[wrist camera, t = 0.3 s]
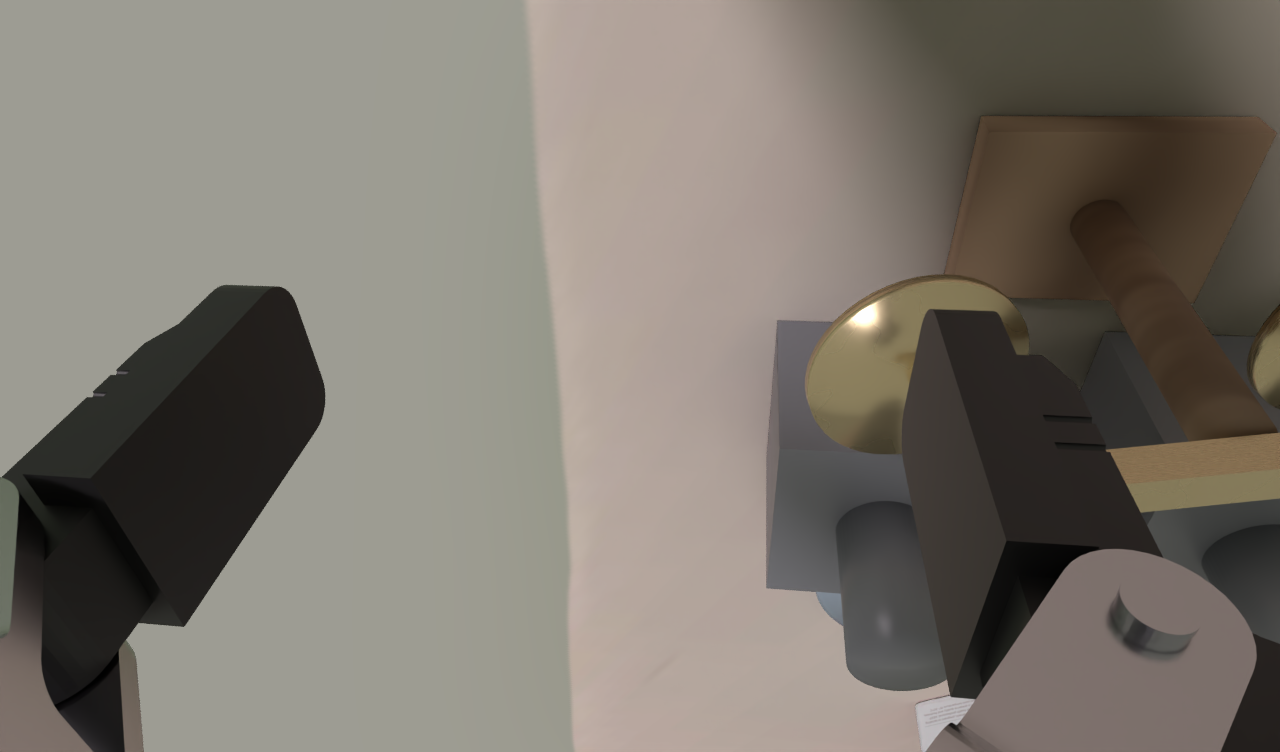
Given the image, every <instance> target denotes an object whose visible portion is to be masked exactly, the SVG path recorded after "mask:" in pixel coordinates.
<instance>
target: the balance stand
mask: <svg viewBox="0 0 1280 752" xmlns="http://www.w3.org/2000/svg"><path fill="white" fill-rule="evenodd" d="M1276 134H1277V133H1276V132H1275V131H1274V130H1273V129H1272V128H1270V127H1269V126H1268V125H1267V124H1266V123H1265V122H1263V121H1262V120H1261V119H1260V118H1259V117H1189V116H981V119H980V123H979V128H978V132H977V136H976V140H975V145H974V149H973V153H972V157H971V162H970V166H969V170H968V174H967V179H966V183H965V187H964V191H963V196H962V200H961V204H960V208H959V213H958V217H957V221H956V225H955V230H954V234H953V238H952V242H951V247H950V251H949V255H948V259H947V264H946V268H945V272H944V274H950V275H962V276H967V277H971V278H976V279H978V280H981V281H984V282H986V283H988V284H990V285H992V286H994V287H995V288H997V289H998V290H1000V291H1001V292H1002V293H1003V294H1004V295H1006V296H1007V297H1008V298H1039V299H1073V300H1107V301H1110V303H1111V305H1112V307H1113V308H1114V310H1115V312H1116V314H1117V315H1118V317H1119V319H1120V321H1121V322H1122V324H1123V326H1124V328H1125V329H1126V331H1127V333H1128V335H1129V337H1130V338H1131V340H1132V342H1133V344H1134V345H1135V347H1136V349H1137V351H1138V352H1139V354H1140V356H1141V358H1142V360H1143V361H1144V363H1145V365H1146V367H1147V368H1148V370H1149V372H1150V374H1151V375H1152V377H1153V379H1154V381H1155V382H1156V384H1157V386H1158V388H1159V390H1160V391H1161V393H1162V395H1163V397H1164V398H1165V400H1166V402H1167V404H1168V405H1169V407H1170V409H1171V411H1172V412H1173V414H1174V416H1175V418H1176V420H1177V421H1178V423H1179V425H1180V427H1181V428H1182V430H1183V432H1184V434H1185V435H1186V437H1187V439H1188V441H1189V442H1190V441H1200V440H1210V439H1220V438H1231V437H1241V436H1251V435H1261V434H1271V433H1278V431H1277V428H1276V426H1275V425H1274V424H1273V422H1272V421H1271V419H1270V418H1269V416H1268V415H1267V413H1266V412H1265V411H1264V409H1263V408H1262V406H1261V405H1260V403H1259V402H1258V401H1257V399H1256V398H1255V396H1254V395H1253V393H1252V392H1251V391H1250V389H1249V388H1248V386H1247V385H1246V383H1245V382H1244V380H1243V379H1242V378H1241V376H1240V375H1239V373H1238V372H1237V370H1236V369H1235V368H1234V366H1233V365H1232V363H1231V362H1230V360H1229V359H1228V358H1227V356H1226V355H1225V353H1224V352H1223V350H1222V349H1221V347H1220V346H1219V345H1218V343H1217V342H1216V340H1215V339H1214V337H1213V336H1212V335H1211V333H1210V332H1209V330H1208V329H1207V327H1206V326H1205V324H1204V323H1203V322H1202V320H1201V319H1200V317H1199V316H1198V314H1197V313H1196V312H1195V310H1194V309H1193V307H1192V306H1191V304H1190V303H1195V300H1196V298H1197V296H1198V294H1199V292H1200V290H1201V288H1202V286H1203V284H1204V282H1205V280H1206V278H1207V276H1208V274H1209V272H1210V270H1211V268H1212V266H1213V263H1214V261H1215V259H1216V257H1217V255H1218V253H1219V251H1220V249H1221V247H1222V245H1223V243H1224V241H1225V239H1226V237H1227V235H1228V233H1229V231H1230V229H1231V227H1232V224H1233V222H1234V220H1235V218H1236V216H1237V214H1238V212H1239V210H1240V208H1241V206H1242V204H1243V202H1244V200H1245V198H1246V196H1247V194H1248V192H1249V190H1250V188H1251V185H1252V183H1253V181H1254V179H1255V177H1256V175H1257V173H1258V171H1259V169H1260V167H1261V165H1262V163H1263V161H1264V159H1265V157H1266V155H1267V153H1268V151H1269V149H1270V146H1271V144H1272V142H1273V140H1274V138H1275V136H1276Z"/></svg>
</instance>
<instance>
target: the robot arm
mask: <svg viewBox="0 0 1280 752" xmlns="http://www.w3.org/2000/svg"><path fill="white" fill-rule="evenodd" d="M93 393H94V395H93V397H92V398H91V397H87V398H86V399H85V400H84V401H82V402H81V403H80V404H79V405H78V406H77V407H76V408H75V409H74V410H73V411H72V412H71V413H70V414H69V415H68V416H67V417H66V418H64V419H63V420H62V421H61V422H60V423H59V424H58V425H57V426H56V427H55V428H54V429H53V430H51V431H50V432H49V433H48V434H47V435H46V436H45V437H44V438H43V439H42V440H41V441H40V442H39V443H38V444H37V445H35V447H33V448H32V449H31V450H30V451H29V452H28V453H27V454H26V455H25V456H24V457H23V458H22V459H21V460H19V461H18V462H17V463H16V464H15V465H14V466H13V467H12V468H11V469H10V470H9V471H8V472H7V473H6V474H5V475H4V476H2V477H0V752H144V748H143V735H142V723H141V710H140V698H139V686H138V674H137V662H136V656H135V653H134V651H133V649H132V648H131V646H130V645H129V643H128V642H127V641H126V639H127V638H128V636H129V635H130V634H131V632H132V631H133V629H134V628H135V627H136V625H137V624H138V623H146V624H158V625H169V626H181V627H184V626H185V625H186V623H187V622H188V620H189V619H190V618H191V616H192V614H193V613H194V612H195V610H196V609H197V607H198V606H199V604H200V603H201V601H202V600H203V598H204V597H205V595H206V594H207V592H208V591H209V589H210V588H211V586H212V585H213V583H214V582H215V580H216V579H217V577H218V576H219V574H220V573H221V571H222V570H223V568H224V567H225V565H226V564H227V562H228V561H229V559H230V558H231V556H232V555H233V553H234V552H235V550H236V549H237V547H238V546H239V544H240V543H241V541H242V540H243V538H244V537H245V536H246V534H247V532H248V531H249V530H250V528H251V527H252V525H253V524H254V522H255V520H256V519H257V518H258V516H259V515H260V513H261V512H262V510H263V509H264V507H265V506H266V504H267V503H268V501H269V500H270V498H271V497H272V495H273V494H274V492H275V491H276V489H277V488H278V486H279V485H280V483H281V482H282V480H283V479H284V477H285V476H286V474H287V473H288V471H289V470H290V468H291V467H292V465H293V464H294V462H295V461H296V459H297V458H298V456H299V455H300V453H301V452H302V451H303V449H304V448H305V446H306V445H307V443H308V442H309V440H310V439H311V437H312V435H313V434H314V432H315V431H316V430H317V428H318V426H319V424H320V422H321V419H322V416H323V412H324V407H325V388H324V383H323V380H322V376H321V374H320V371H319V368H318V365H317V362H316V359H315V356H314V353H313V351H312V348H311V345H310V342H309V339H308V336H307V334H306V331H305V328H304V325H303V322H302V320H301V317H300V314H299V311H298V308H297V305H296V303H295V300H294V299H293V297H292V295H291V294H290V293H289V292H288V291H287V290H286V289H284V288H282V287H274V286H243V285H242V286H241V285H223V286H220V287H218V288H217V289H215V290H214V291H213V292H212V293H210V294H209V295H208V296H207V297H206V299H204V300H203V301H202V302H201V303H200V304H199V305H198V306H197V307H196V308H195V309H194V310H193V311H192V312H191V313H190V314H189V315H188V316H186V318H185V319H183V320H182V321H181V322H180V323H179V324H178V325H176V326H174V327H172V328H171V329H169V330H167V331H165V332H164V333H162V334H160V335H159V336H157V337H155V338H153V339H151V340H150V341H148V342H146V343H144V344H143V345H142V346H141V347H140V348H139V349H138V350H137V351H136V352H135V353H134V354H133V355H132V356H131V357H130V358H128V359H127V360H126V361H125V362H124V363H123V364H122V365H121V366H120V367H119V368H118V369H117V374H116V375H110V376H109V377H108V378H107V379H106V380H105V381H104V382H103V383H102V384H101V385H100V386H99V387H97V388H96V389H95V390H94V391H93ZM901 441H902V457H903V463H904V468H905V473H906V478H907V483H908V488H909V493H910V498H911V503H912V508H913V513H914V518H915V523H916V528H917V533H918V538H919V543H920V548H921V553H922V557H923V562H924V567H925V572H926V577H927V582H928V587H929V592H930V597H931V602H932V607H933V612H934V617H935V622H936V627H937V632H938V637H939V642H940V647H941V652H942V657H943V662H944V667H945V672H946V677H947V681H948V686H949V691H950V696H951V697H954V698H966V699H976V700H975V701H974V703H973V704H972V706H971V707H970V709H969V710H968V712H967V713H966V714H965V716H964V717H963V718H962V720H961V721H960V722H959V723H958V724H957V725H955V724H954V723H949V724H948V725H947V726H946V727H945V728H944V729H943V730H942V731H941V732H940V733H939V734H938V736H937V737H936V738H935V740H934V741H933V742H932V743H931V745H930V746H929V748H928V749H927V750H926V752H1280V644H1279V643H1276V642H1274V641H1271V640H1268V639H1265V638H1262V637H1260V636H1258V635H1256V634H1254V633H1252V632H1251V630H1250V628H1249V626H1248V624H1247V622H1246V620H1245V619H1244V617H1243V616H1242V615H1241V613H1240V612H1239V610H1238V609H1237V608H1236V607H1235V606H1234V604H1233V603H1232V602H1231V601H1230V600H1229V599H1228V598H1227V597H1226V596H1225V595H1224V594H1223V593H1222V592H1220V591H1219V590H1218V589H1217V588H1216V587H1214V586H1213V585H1212V584H1211V583H1209V582H1208V581H1206V580H1205V579H1203V578H1202V577H1200V576H1199V575H1197V574H1196V573H1194V572H1192V571H1190V570H1188V569H1187V568H1185V567H1183V566H1181V565H1179V564H1176V563H1174V562H1172V561H1169V560H1167V559H1165V558H1163V556H1162V554H1161V552H1160V550H1159V548H1158V546H1157V544H1156V542H1155V540H1154V538H1153V536H1152V534H1151V532H1150V530H1149V528H1148V526H1147V524H1146V522H1145V520H1144V518H1143V516H1142V514H1141V512H1140V510H1139V508H1138V506H1137V504H1136V502H1135V500H1134V498H1133V496H1132V495H1131V493H1130V491H1129V489H1128V487H1127V485H1126V483H1125V481H1124V479H1123V477H1122V475H1121V473H1120V471H1119V469H1118V467H1117V465H1116V463H1115V461H1114V459H1113V457H1112V455H1111V453H1110V452H1106V443H1105V441H1104V439H1103V437H1102V435H1101V433H1100V431H1099V429H1098V427H1097V425H1096V424H1092V415H1091V413H1090V411H1089V409H1088V407H1087V405H1086V403H1085V401H1084V400H1083V398H1082V396H1081V394H1080V392H1079V390H1078V388H1077V386H1076V384H1075V383H1074V382H1073V381H1071V380H1070V379H1069V378H1068V377H1067V376H1066V375H1064V374H1063V373H1062V372H1061V371H1060V370H1059V369H1057V368H1056V367H1055V366H1054V365H1053V364H1052V363H1051V362H1049V361H1048V360H1047V359H1046V358H1045V357H1044V356H1042V355H1017V354H1016V352H1015V349H1014V347H1013V345H1012V342H1011V340H1010V338H1009V336H1008V333H1007V331H1006V329H1005V326H1004V324H1003V322H1002V319H1001V317H1000V315H999V314H998V313H997V312H995V311H977V310H946V309H929V310H928V311H927V312H926V314H925V316H924V319H923V322H922V326H921V330H920V335H919V340H918V345H917V349H916V354H915V359H914V364H913V368H912V373H911V378H910V383H909V387H908V392H907V397H906V402H905V406H904V412H903V419H902V436H901Z"/></svg>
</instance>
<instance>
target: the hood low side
mask: <svg viewBox="0 0 1280 752" xmlns="http://www.w3.org/2000/svg"><path fill="white" fill-rule="evenodd" d="M1212 336H1213V337H1214V339H1215V340H1216V342H1217V343H1218V345H1219V346H1220V347H1221V349H1222V350H1223V352H1224V353H1225V355H1226V356H1227V358H1228V359H1229V360H1230V362H1231V363H1232V365H1233V366H1234V368H1235V369H1236V370H1237V372H1238V373H1239V375H1240V376H1241V378H1242V379H1243V380H1244V382H1245V383H1246V385H1247V386H1248V388H1249V389H1250V391H1251V392H1252V393H1253V395H1254V396H1255V398H1256V399H1257V401H1258V402H1259V403H1260V405H1261V406H1262V408H1263V409H1264V411H1265V412H1266V413H1267V415H1268V416H1269V418H1270V419H1271V421H1272V422H1273V424H1274V425H1275V426H1276V428H1277V431H1278V433H1280V409H1277V408H1275V407H1273V406H1272V405H1270V404H1269V403H1268V402H1266V401H1265V400H1264V399H1263V398H1262V397H1261V396H1260V395H1259V394H1258V393H1257V392H1256V391H1255V390H1254V389H1253V387H1252V386H1251V384H1250V382H1249V379H1248V376H1247V359H1248V354H1249V351H1250V348H1251V345H1252V343H1253V341H1254V339H1255V337H1250V336H1220V335H1212ZM1080 394H1081V396H1082V398H1083V400H1084V401H1085V403H1086V405H1087V407H1088V409H1089V411H1090V413H1091V415H1092V424H1096V425H1097V427H1098V429H1099V431H1100V433H1101V435H1102V437H1103V439H1104V441H1105V443H1106V450H1108V449H1119V448H1129V447H1139V446H1149V445H1159V444H1170V443H1180V442H1189V441H1188V439H1187V437H1186V435H1185V434H1184V432H1183V430H1182V428H1181V427H1180V425H1179V423H1178V421H1177V420H1176V418H1175V416H1174V414H1173V412H1172V411H1171V409H1170V407H1169V405H1168V404H1167V402H1166V400H1165V398H1164V397H1163V395H1162V393H1161V391H1160V390H1159V388H1158V386H1157V384H1156V382H1155V381H1154V379H1153V377H1152V375H1151V374H1150V372H1149V370H1148V368H1147V367H1146V365H1145V363H1144V361H1143V360H1142V358H1141V356H1140V354H1139V352H1138V351H1137V349H1136V347H1135V345H1134V344H1133V342H1132V340H1131V338H1130V337H1129V335H1128V333H1127V332H1105V333H1104V335H1103V338H1102V340H1101V343H1100V345H1099V347H1098V350H1097V352H1096V355H1095V357H1094V360H1093V362H1092V364H1091V367H1090V369H1089V372H1088V374H1087V377H1086V379H1085V382H1084V384H1083V386H1082V389H1081V391H1080ZM1141 514H1142V516H1143V518H1144V520H1145V522H1146V524H1147V526H1148V528H1149V530H1150V532H1151V534H1152V536H1153V538H1154V540H1155V542H1156V544H1157V546H1158V548H1159V550H1160V552H1161V554H1162V556H1163V558H1165V559H1167V560H1169V561H1172V562H1174V563H1176V564H1179V565H1181V566H1183V567H1185V568H1187V569H1188V570H1190V571H1192V572H1194V573H1196V574H1197V575H1199V576H1200V577H1202V578H1203V579H1205V580H1206V581H1208V582H1209V583H1211V584H1212V585H1213V586H1214V587H1216V588H1217V589H1218V590H1219V591H1220V592H1222V593H1223V594H1224V595H1225V596H1226V597H1227V598H1228V599H1229V600H1230V601H1231V602H1232V603H1233V604H1234V606H1235V607H1236V608H1237V609H1238V610H1239V612H1240V613H1241V615H1242V616H1243V617H1244V619H1245V620H1246V622H1247V624H1248V626H1249V628H1250V630H1251V632H1252V633H1254V634H1256V635H1258V636H1260V637H1262V638H1265V639H1268V640H1271V641H1274V642H1276V643H1279V644H1280V498H1279V499H1269V500H1259V501H1250V502H1240V503H1230V504H1220V505H1210V506H1200V507H1190V508H1181V509H1171V510H1161V511H1151V512H1141Z"/></svg>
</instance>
